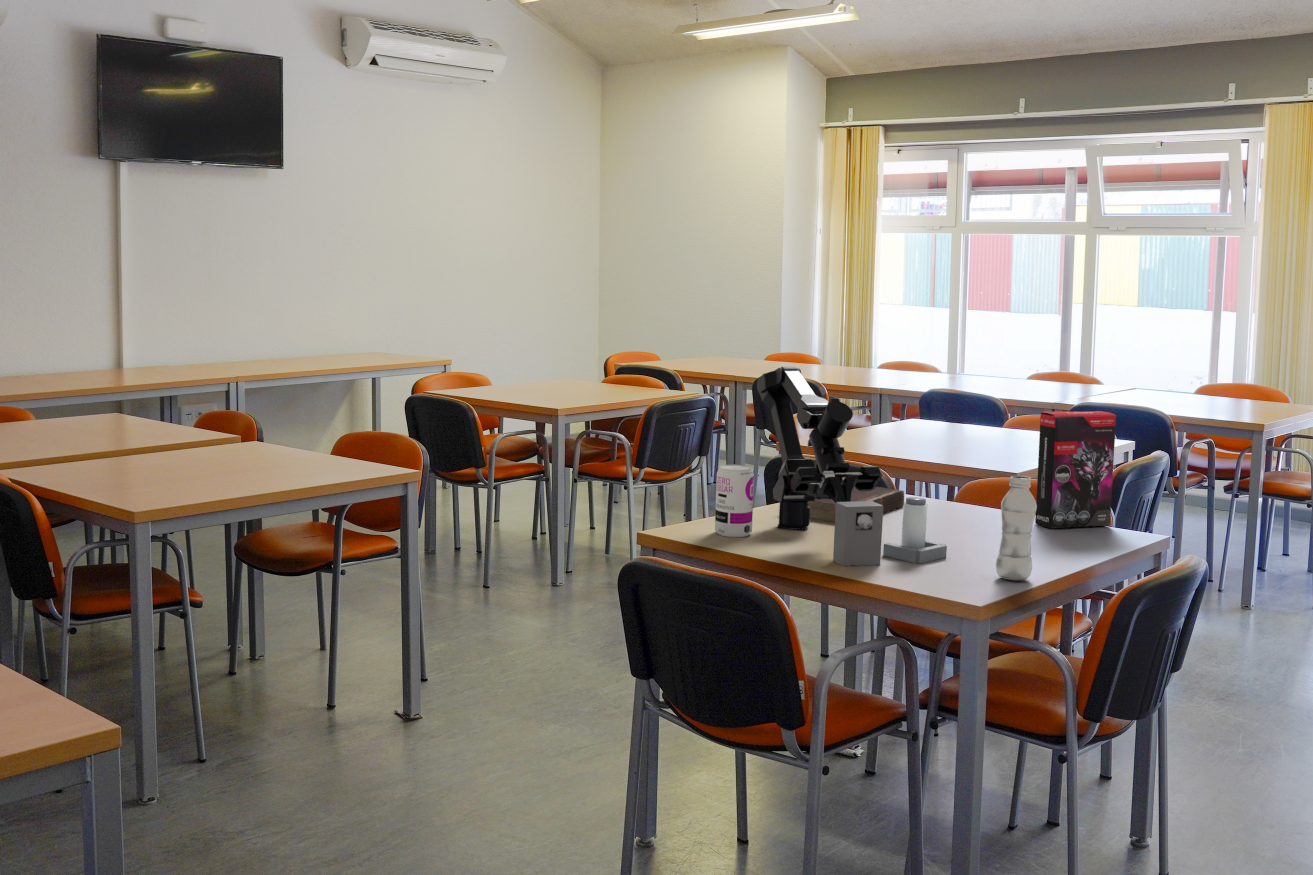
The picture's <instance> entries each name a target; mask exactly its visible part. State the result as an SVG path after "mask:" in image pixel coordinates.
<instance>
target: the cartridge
mask: <svg viewBox="0 0 1313 875" xmlns="http://www.w3.org/2000/svg"><path fill="white" fill-rule="evenodd" d="M926 502H927V499H926V498H923V497H918V496H908V497H905V501H904V506H903V508H902V509H903V512H902V513H903V514H902V524H901V525H902V528H901V529H902V530H901V544H900V546H904V547H909V548H913V549H921V548H925V540H926V534H927V523H928V522H927V520H928V518H927V517H928V503H926Z"/></svg>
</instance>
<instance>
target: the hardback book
mask: <svg viewBox="0 0 1313 875" xmlns="http://www.w3.org/2000/svg"><path fill="white" fill-rule="evenodd" d="M858 501H873V502H875V503H878V504H880V505H882V506H883V513H885V514H887V513H886V512H888V513H890V512H892V511H891V510H893V511H895V510H894V509H896V508H899V509H901V508H904V502H905V493H904V490H900V489H895V488H888V487H882V486H881V487H880V486H876V487H875V489H873V490H871V491H859V490H858V489H856V488H855V486H854V488H853V490H852V494H851V501H850V502H858ZM808 506H810V519H813V518H814V520H819V519H820V520H821V521H826V522H827V521H828V522H832V521H834V523H835V510H836V503H835V502H834V501H833V500H832V499H821V500H818V499H816V498H815V501H808ZM900 507H901V508H900ZM896 510H897V509H896ZM889 511H890V512H889Z"/></svg>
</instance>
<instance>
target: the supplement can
mask: <svg viewBox="0 0 1313 875" xmlns="http://www.w3.org/2000/svg"><path fill="white" fill-rule="evenodd" d="M715 480H716V481H715V482H716V484H715V485H716V486H715V487H716V488H715V509H714V511H715V514H714V531H715V532H716V533H717V535H719V536H722V537H727V538H744V537H748V536H749V535H750V534H751V533H752V532H753V514H754V512H753V511H754V507H753V506H754V486H755V484H754V482H755V475H754V471H753V470H752V467H751V466H749V465H742V464H723V465H719V469H718V470H717V472H716V479H715Z"/></svg>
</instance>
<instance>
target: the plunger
mask: <svg viewBox="0 0 1313 875" xmlns="http://www.w3.org/2000/svg"><path fill="white" fill-rule="evenodd" d="M872 524H873V519H872V518H871V517H870V516H869V515H866V514H864V513H862V512H860V513H856V525H857V526H859V527H861V528H863V529H869V528H870V527H871V526H872Z"/></svg>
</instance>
